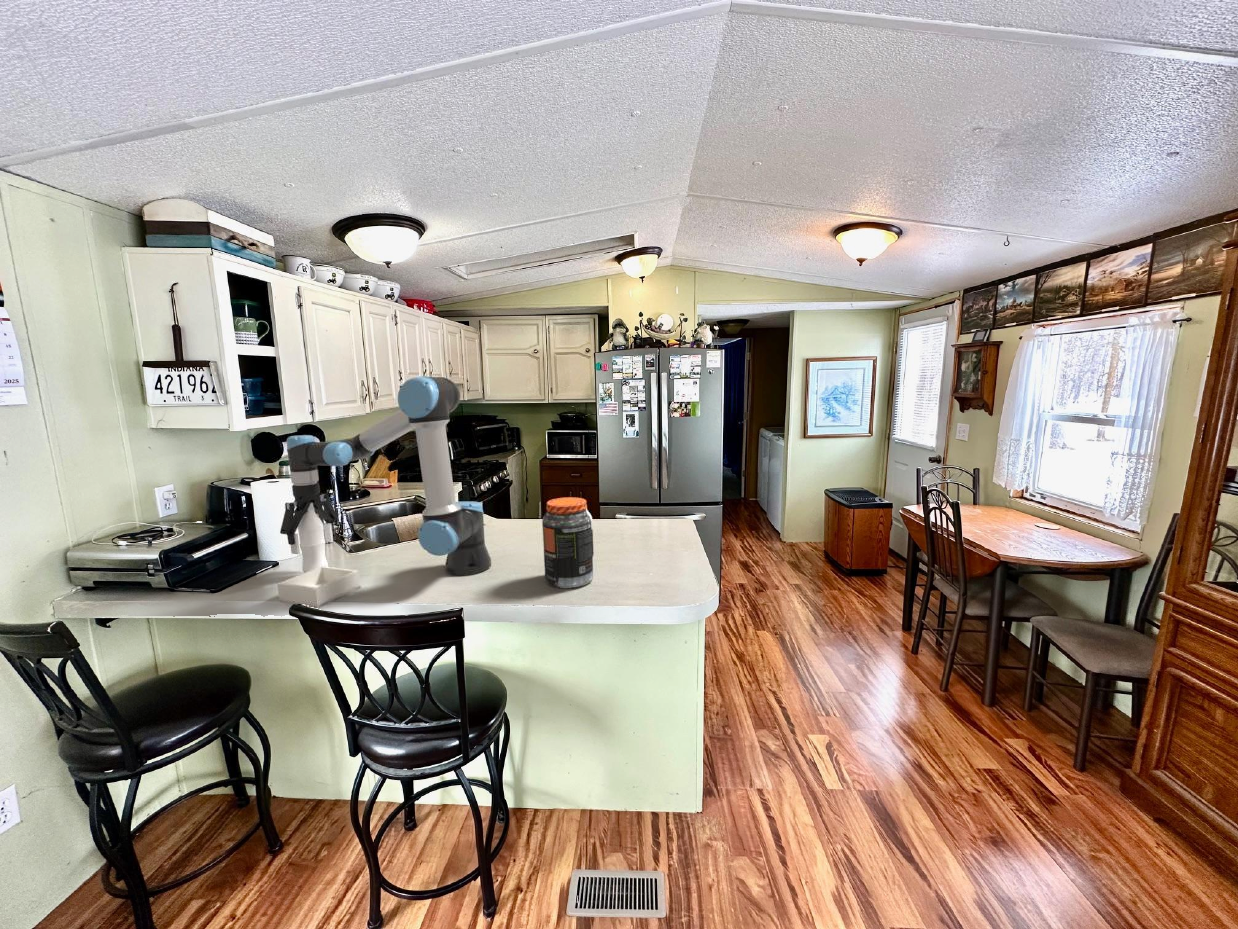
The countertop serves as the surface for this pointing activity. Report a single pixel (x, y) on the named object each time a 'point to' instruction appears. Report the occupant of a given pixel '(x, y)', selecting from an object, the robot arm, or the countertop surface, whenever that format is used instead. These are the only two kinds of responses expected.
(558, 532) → the supplement tub
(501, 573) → the countertop surface
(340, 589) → the bin
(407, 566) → the countertop surface
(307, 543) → the water bottle
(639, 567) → the countertop surface
